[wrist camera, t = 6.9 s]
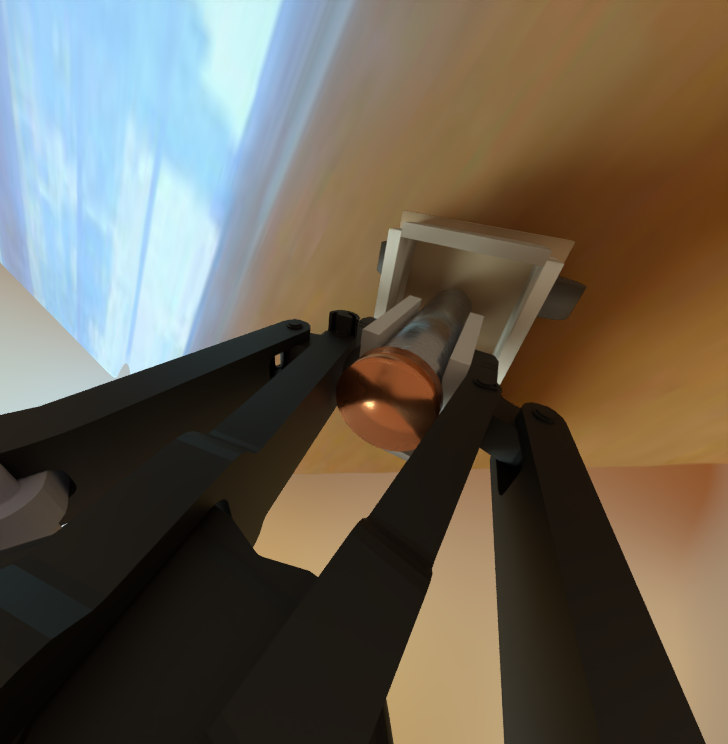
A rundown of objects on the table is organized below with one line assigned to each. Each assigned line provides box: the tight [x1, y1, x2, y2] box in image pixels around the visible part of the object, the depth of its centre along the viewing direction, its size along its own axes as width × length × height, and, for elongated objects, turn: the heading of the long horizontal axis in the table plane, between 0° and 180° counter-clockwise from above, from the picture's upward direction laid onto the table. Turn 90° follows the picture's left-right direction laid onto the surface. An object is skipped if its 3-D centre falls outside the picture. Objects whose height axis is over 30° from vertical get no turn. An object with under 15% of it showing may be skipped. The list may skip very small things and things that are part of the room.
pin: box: [336, 288, 472, 452], centre depth 14 cm, size 4×4×13 cm
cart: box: [374, 211, 586, 461], centre depth 25 cm, size 22×17×12 cm
